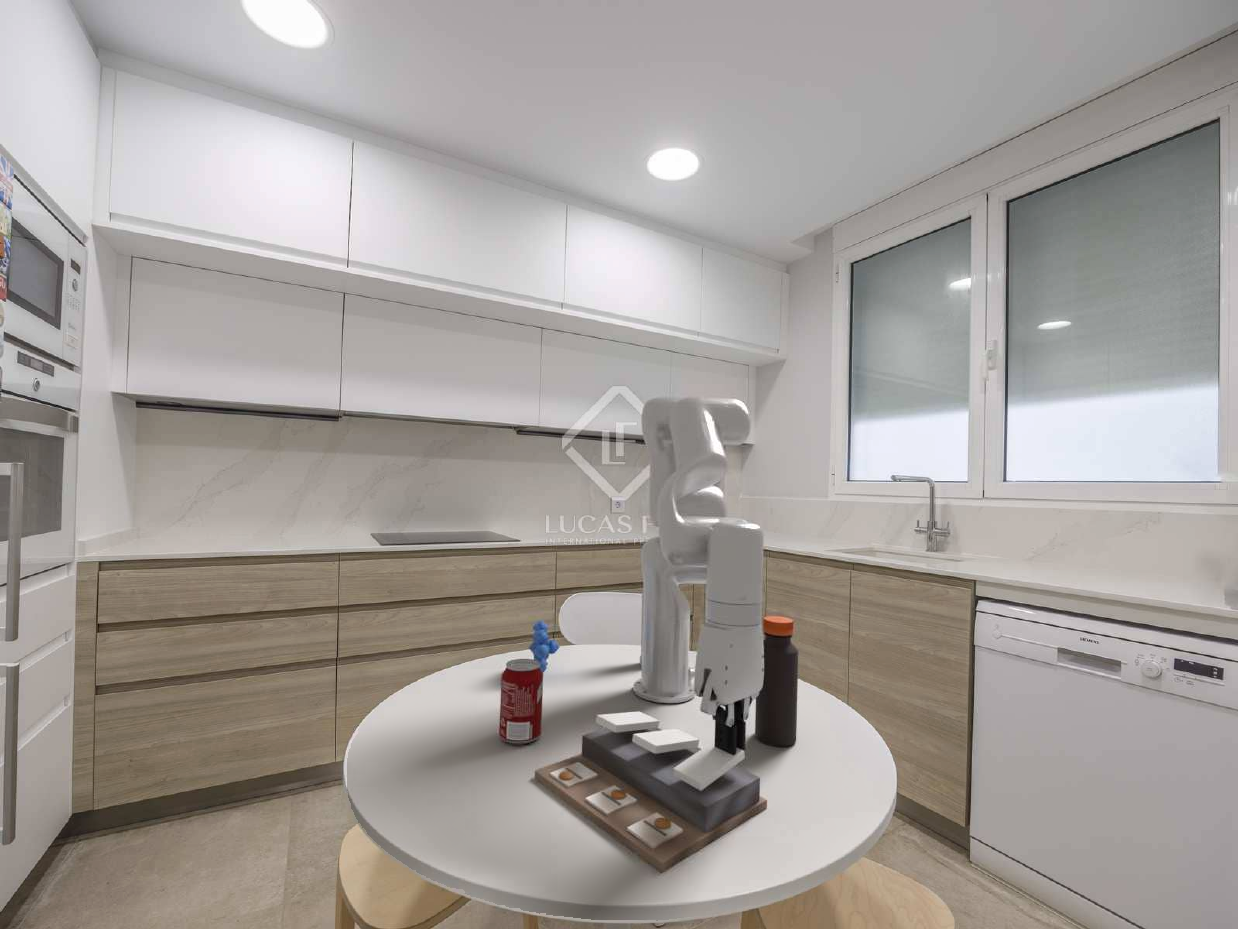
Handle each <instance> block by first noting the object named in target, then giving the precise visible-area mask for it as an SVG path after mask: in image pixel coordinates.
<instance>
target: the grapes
mask: <svg viewBox="0 0 1238 929" xmlns="http://www.w3.org/2000/svg"><path fill="white" fill-rule="evenodd" d="M549 628H550V627H549V626H548V624H547V623H546V622H545V621H544V620H540V621H537V622H536V623H535V624H533V627H532V629H533V631H534V633H533V634H532V636H531V638H532V640H533V642H531V644H530V645H529V646H528V649H529V651H530V652H531V653H532V655H533V660H536V661H538V662H539V663H540V666H539V668H540V669H541V671H542V672H543V674H544V673H545V671H546V670H547V669H548V667H547V666H548V664H549V663H548V662H547V660H548V659H549V657H550V655H554V654H555V653H556V652H557V651H559V649H560V645H559V644H558V642H557V641H556V640H554V639H551V640H550V636H549V634H548V633H547V631H548V630H549Z"/></svg>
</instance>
